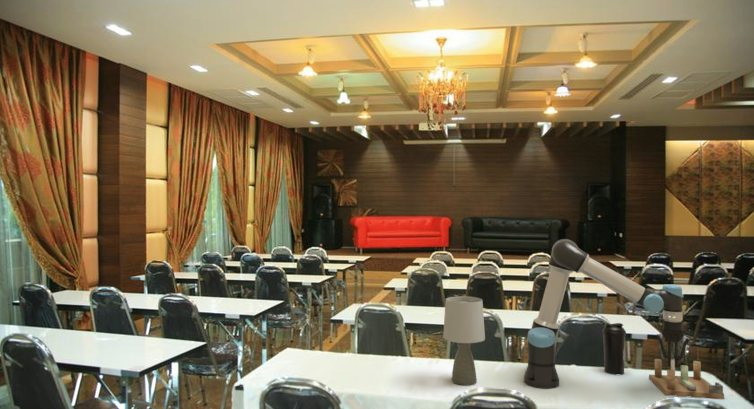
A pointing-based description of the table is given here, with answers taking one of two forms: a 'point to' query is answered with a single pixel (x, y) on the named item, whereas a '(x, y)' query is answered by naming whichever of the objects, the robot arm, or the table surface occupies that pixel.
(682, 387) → the stool seat
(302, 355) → the table surface
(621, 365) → the water bottle
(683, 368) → the hinged leg
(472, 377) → the lamp
